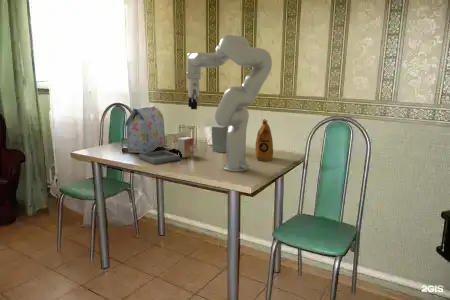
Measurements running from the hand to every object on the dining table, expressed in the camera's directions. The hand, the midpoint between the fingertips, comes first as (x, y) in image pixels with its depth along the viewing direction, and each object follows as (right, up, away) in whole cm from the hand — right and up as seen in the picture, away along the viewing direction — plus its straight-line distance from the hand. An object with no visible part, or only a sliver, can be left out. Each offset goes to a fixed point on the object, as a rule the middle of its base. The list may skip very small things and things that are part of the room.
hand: (192, 108), depth 196 cm
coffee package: (+40, -28, +4) cm, 49 cm away
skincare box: (+15, -24, +22) cm, 36 cm away
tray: (-18, -28, -1) cm, 34 cm away
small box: (-5, -27, +8) cm, 28 cm away
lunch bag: (-31, -23, +22) cm, 45 cm away
